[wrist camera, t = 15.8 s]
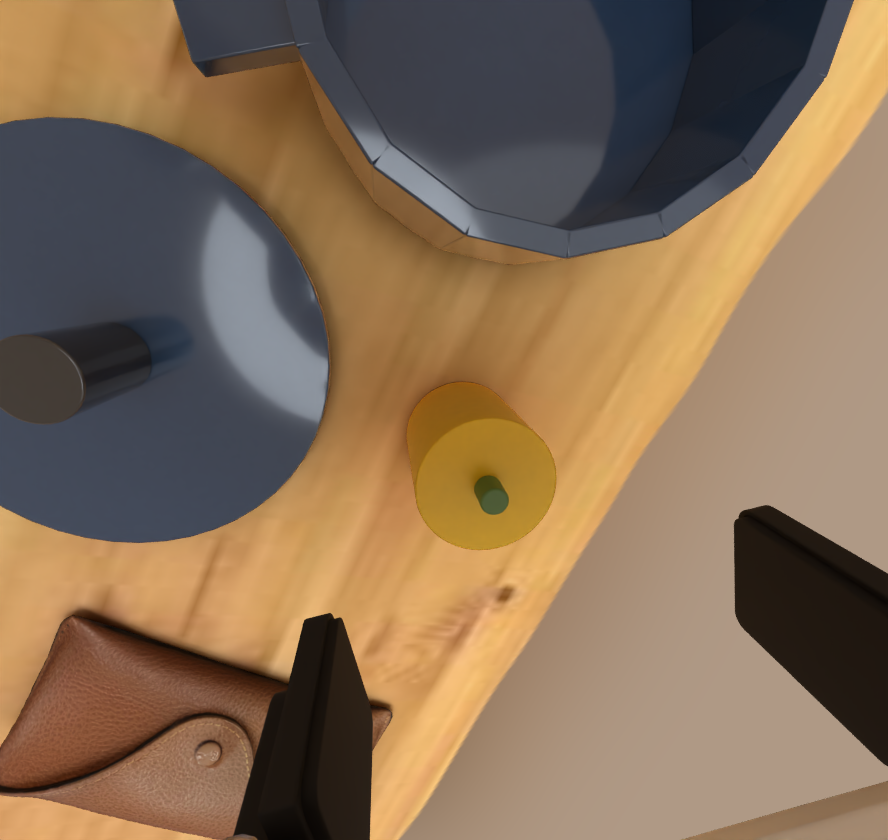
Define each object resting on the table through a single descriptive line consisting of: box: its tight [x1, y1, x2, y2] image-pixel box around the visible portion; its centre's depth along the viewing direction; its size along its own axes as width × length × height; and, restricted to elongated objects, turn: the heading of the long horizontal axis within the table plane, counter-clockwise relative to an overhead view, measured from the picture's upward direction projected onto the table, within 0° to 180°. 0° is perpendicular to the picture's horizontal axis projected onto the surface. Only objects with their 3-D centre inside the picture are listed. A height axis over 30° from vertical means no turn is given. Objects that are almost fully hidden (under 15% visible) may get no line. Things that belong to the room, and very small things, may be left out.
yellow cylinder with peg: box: [407, 382, 556, 550], centre depth 19 cm, size 5×5×7 cm
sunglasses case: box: [0, 615, 392, 840], centre depth 24 cm, size 18×7×7 cm
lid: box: [0, 117, 331, 543], centre depth 17 cm, size 17×17×6 cm
